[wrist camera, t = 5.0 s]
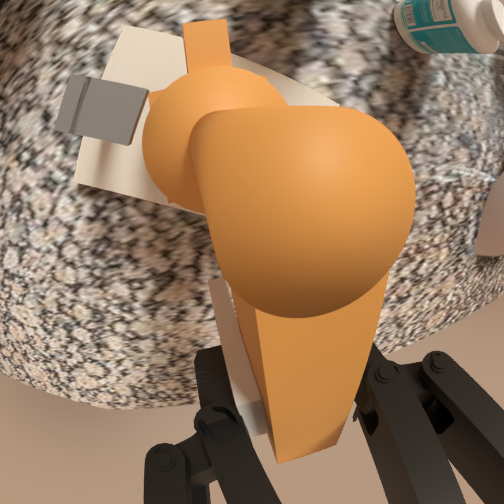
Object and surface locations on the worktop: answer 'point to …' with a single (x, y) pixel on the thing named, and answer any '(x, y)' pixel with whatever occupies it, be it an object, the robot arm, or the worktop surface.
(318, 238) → the lever handle
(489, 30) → the pill bottle
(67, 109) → the base
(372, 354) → the robot arm
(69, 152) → the worktop surface
